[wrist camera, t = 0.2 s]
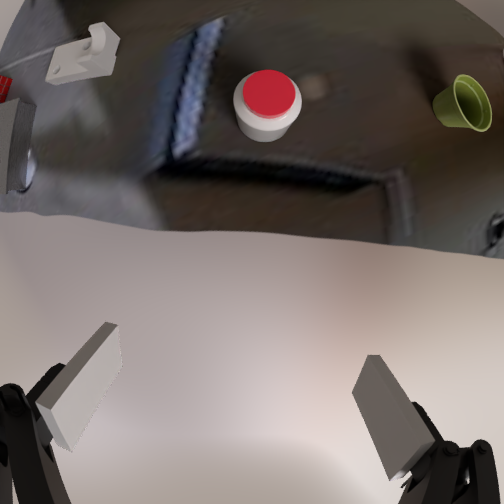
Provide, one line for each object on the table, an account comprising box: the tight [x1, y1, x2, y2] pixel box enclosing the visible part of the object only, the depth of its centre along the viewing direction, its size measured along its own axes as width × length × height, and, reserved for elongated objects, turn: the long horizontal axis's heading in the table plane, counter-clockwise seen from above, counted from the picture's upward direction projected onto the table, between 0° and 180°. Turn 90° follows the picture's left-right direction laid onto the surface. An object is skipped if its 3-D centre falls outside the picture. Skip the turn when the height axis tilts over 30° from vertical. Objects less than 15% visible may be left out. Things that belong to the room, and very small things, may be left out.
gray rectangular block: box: [0, 98, 37, 194], centre depth 32 cm, size 17×12×6 cm
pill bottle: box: [233, 70, 302, 142], centre depth 30 cm, size 8×8×11 cm
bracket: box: [45, 22, 120, 85], centre depth 28 cm, size 13×7×8 cm, turn 83°
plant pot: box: [433, 75, 492, 132], centre depth 30 cm, size 9×9×9 cm
